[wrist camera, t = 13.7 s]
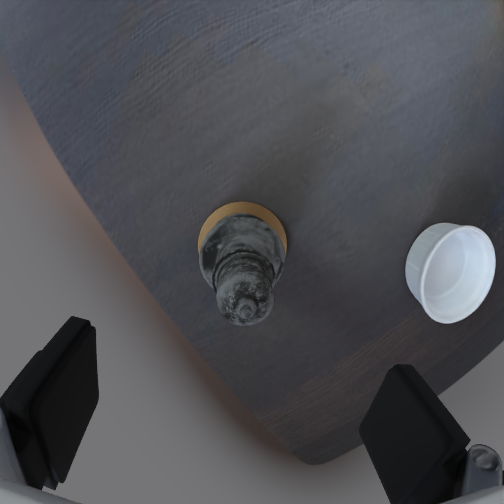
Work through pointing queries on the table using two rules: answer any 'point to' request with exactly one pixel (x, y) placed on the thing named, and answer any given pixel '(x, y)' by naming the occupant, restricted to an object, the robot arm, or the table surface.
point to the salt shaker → (242, 267)
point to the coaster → (243, 208)
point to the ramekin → (450, 270)
